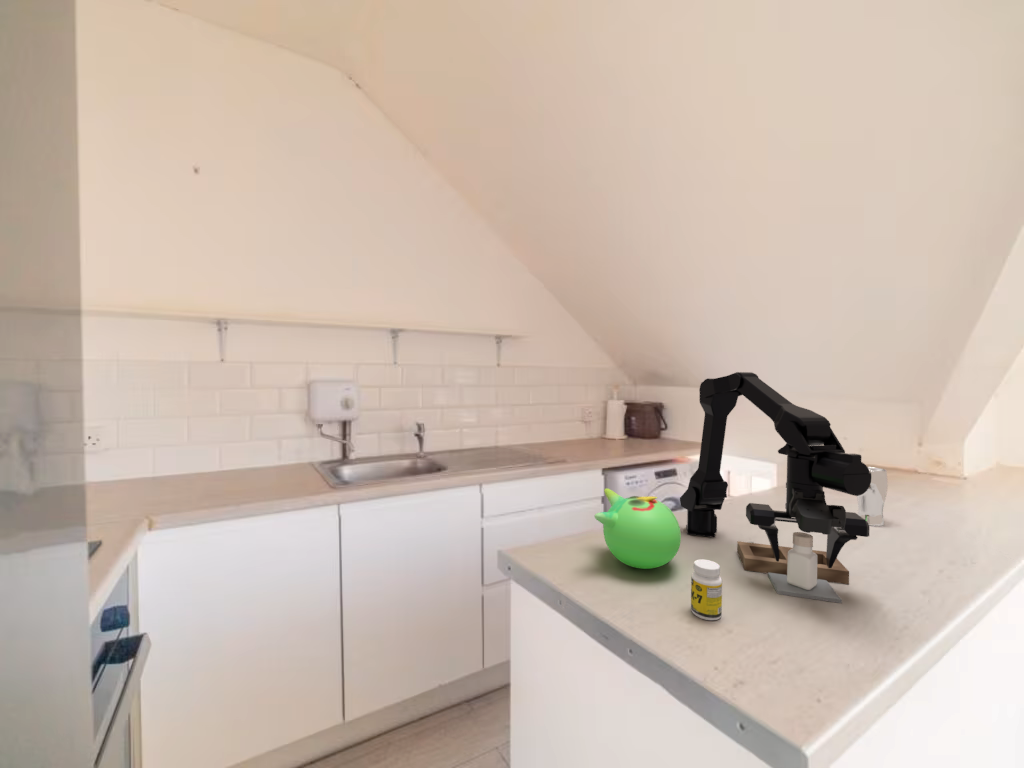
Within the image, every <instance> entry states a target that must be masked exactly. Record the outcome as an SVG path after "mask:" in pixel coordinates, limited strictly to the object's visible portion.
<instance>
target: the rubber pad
mask: <svg viewBox="0 0 1024 768" xmlns="http://www.w3.org/2000/svg"><path fill="white" fill-rule="evenodd" d="M767 577H768V578H769V581H770V582H771V584H772V586H773V588H774V590H775V592H776V593H777V595H778V594H779V595H783V596H789V597H790V596H791V597H797V598H804V599H811V600H819V601H825V602H830V603H831V602H832V603H839V604H842V603H843V599H842V598H841V596H839V594H838V593H837V592H836V591H835V589H834V588H833V587H832V586H831V584H830V582H828V581H827V580H821V579H817V584H816V586H815V587H813V588H812V589H810V590H806V589H803V588H800V587H798V586H795V585H792V584H789V583H788V582H787V575H784V574H777V573H769V572H768V573H767Z"/></svg>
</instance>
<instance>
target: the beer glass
mask: <svg viewBox="0 0 1024 768" xmlns="http://www.w3.org/2000/svg"><path fill="white" fill-rule="evenodd" d="M867 467H868V469H869V472H870V474H871V484H870V486H869V488H868V490H867V491H866V492H865V493H864V494H862V495H859V496H856V500H857V509H858V510H857V514H858V515H859V516H860V517H862V518H863V519H865V520H866V521H867V522H868V524H869V526H870V527H871V526H872V527H884V526H885V525H886V523H885V519H884V506H885V502H886V497H887V493H888V486H889V482H888V470H887V469H885V468H882V467H881V468H880V467H875V466H867Z"/></svg>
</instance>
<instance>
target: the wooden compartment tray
mask: <svg viewBox="0 0 1024 768" xmlns="http://www.w3.org/2000/svg"><path fill="white" fill-rule="evenodd" d="M736 543H737V549H736V553H737V555H738V557H739V561H740V562H741V565H742V567H743V570H744V571H747V572H748V571H749V572H756V573H761V574H762V573H763V574H768V572H769V573H777V574H784V575H787V562H788V551H789V550H790V549H792V548H793V547H791V546H790V547H789V546H788V547H787V546H780V545H779V562H778V561H776V559H775V557H774V554H773V551H772V548H771V545H770V544H763V543H756V542H755V543H754V542H746V541H739V540H738V541H737V542H736ZM812 552H814V553H815V554H817V556H818V558H817V579H821V580H827V582H828V583H837V584H843V585H849V584H850V571H849V570H848V568H847V567H846V566H845V565H844V564H843V563H842V562H841V561H840V560H839V559H838V557H837V558H836V560H835V562H834V564H833V566H832V568H828V567H827V560H826V552H827V551H823V550H814V549H812Z"/></svg>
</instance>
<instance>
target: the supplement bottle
mask: <svg viewBox="0 0 1024 768" xmlns="http://www.w3.org/2000/svg"><path fill="white" fill-rule="evenodd" d="M720 575H721V567H720V564H718V562H715V561H713V560H709V559H702V558H701V559H696V560H694V562H693V572H692V573H691V582H690V583H691V584H690V586H691V589H690V610H691V612H692V614H693V615H695V616H696V617H697V618H699V619H701V620H704V621H705V620H706V621H717V620H719V619H721V617H722V612H723V611H722V610H723V608H722V607H723V580H722V578H721V576H720Z"/></svg>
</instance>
